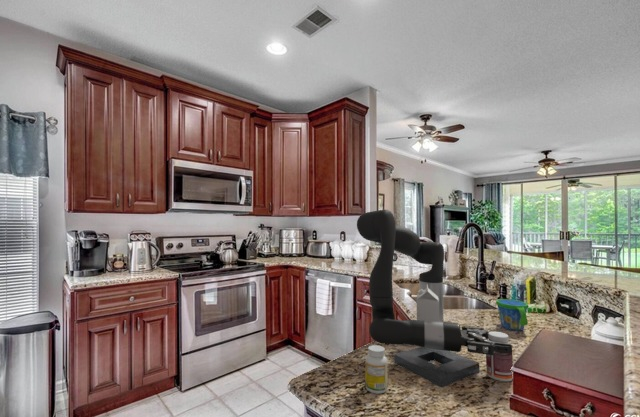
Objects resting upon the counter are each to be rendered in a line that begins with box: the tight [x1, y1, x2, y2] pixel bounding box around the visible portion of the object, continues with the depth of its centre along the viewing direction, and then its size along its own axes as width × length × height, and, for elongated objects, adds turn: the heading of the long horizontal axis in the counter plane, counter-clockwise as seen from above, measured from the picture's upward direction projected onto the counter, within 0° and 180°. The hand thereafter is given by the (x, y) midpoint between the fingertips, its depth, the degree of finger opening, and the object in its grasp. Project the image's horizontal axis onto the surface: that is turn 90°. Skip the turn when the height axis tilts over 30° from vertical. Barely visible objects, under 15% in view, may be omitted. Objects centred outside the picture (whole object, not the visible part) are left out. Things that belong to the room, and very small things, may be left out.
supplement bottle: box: [364, 344, 389, 395], centre depth 76 cm, size 5×5×10 cm
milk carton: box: [416, 285, 439, 321], centre depth 107 cm, size 7×7×19 cm
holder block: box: [393, 346, 480, 388], centre depth 87 cm, size 16×16×2 cm
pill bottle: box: [485, 331, 514, 383], centre depth 83 cm, size 6×6×11 cm
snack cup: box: [495, 298, 529, 332], centre depth 122 cm, size 16×10×10 cm
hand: (507, 342), depth 82 cm, fingers open, 8 cm apart
